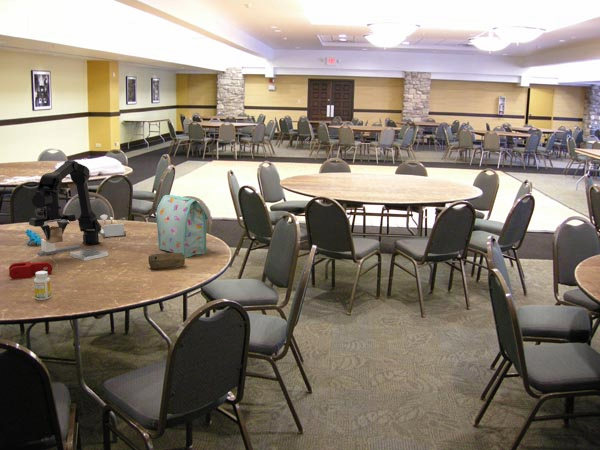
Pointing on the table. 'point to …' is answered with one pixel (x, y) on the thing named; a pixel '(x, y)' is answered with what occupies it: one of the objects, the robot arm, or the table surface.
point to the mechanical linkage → (28, 269)
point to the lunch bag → (181, 226)
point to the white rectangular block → (47, 245)
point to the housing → (55, 235)
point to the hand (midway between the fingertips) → (54, 239)
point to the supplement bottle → (42, 286)
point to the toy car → (111, 228)
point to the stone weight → (166, 260)
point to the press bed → (88, 254)
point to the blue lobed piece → (33, 237)
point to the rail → (59, 250)
